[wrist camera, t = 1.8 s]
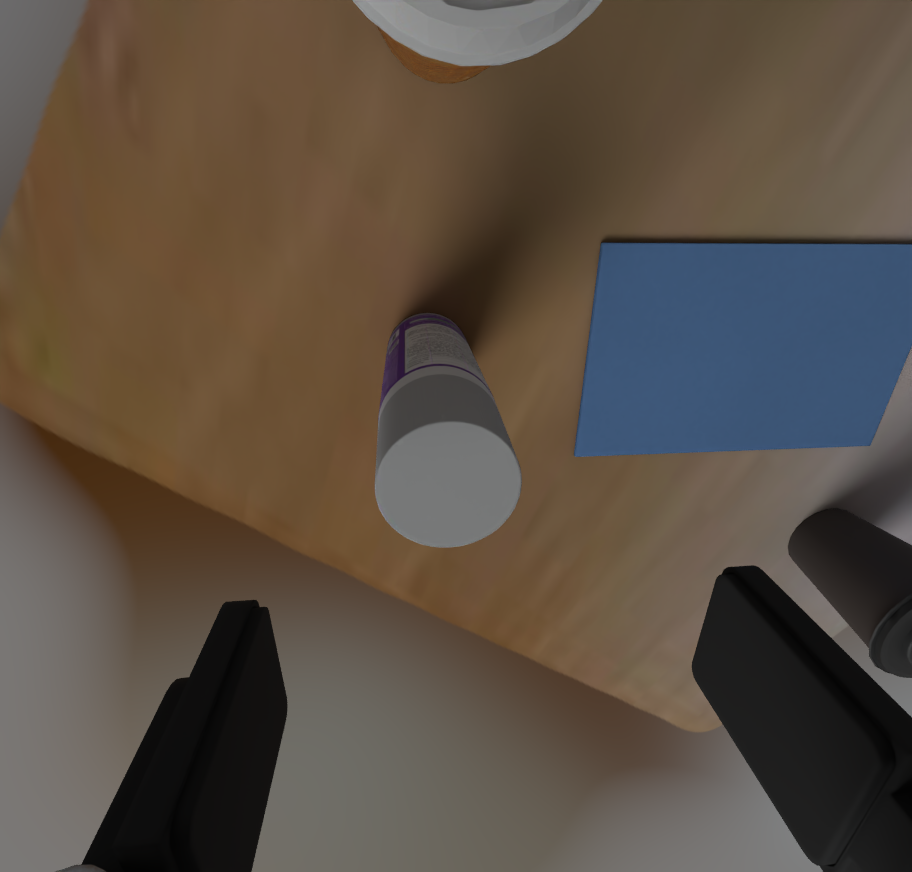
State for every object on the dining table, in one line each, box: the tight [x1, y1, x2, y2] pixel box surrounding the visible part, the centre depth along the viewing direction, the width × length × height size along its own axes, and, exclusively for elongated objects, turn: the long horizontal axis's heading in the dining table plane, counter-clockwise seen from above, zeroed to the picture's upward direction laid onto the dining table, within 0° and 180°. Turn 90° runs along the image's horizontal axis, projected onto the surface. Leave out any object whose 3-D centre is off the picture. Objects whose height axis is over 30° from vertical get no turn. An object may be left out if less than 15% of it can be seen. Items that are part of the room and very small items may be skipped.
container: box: [375, 313, 522, 547], centre depth 21 cm, size 5×5×15 cm
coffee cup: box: [788, 509, 912, 678], centre depth 33 cm, size 8×8×10 cm
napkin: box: [574, 243, 912, 457], centre depth 30 cm, size 13×21×1 cm, turn 90°
